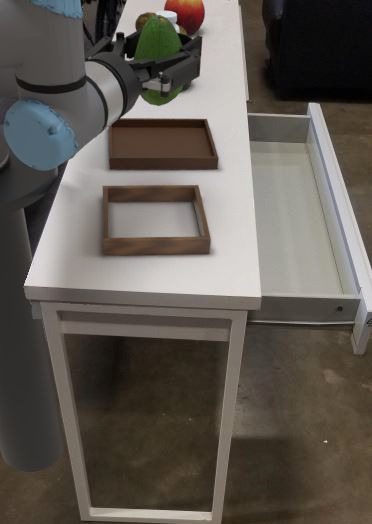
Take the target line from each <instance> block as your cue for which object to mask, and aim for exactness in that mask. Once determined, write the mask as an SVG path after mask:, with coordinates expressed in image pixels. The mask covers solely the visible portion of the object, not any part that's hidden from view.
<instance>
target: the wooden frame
mask: <svg viewBox="0 0 372 524" xmlns="http://www.w3.org/2000/svg"><path fill="white" fill-rule="evenodd" d="M141 202H142V203H143V202H144V203H145V202H146V203H147V202H148V203H151V202H155V203H156V202H193V206H194V211H195V215H196V220H197V224H198V229H199V234H200V236H196V235H195V236H144V237H143V236H140V237H139V236H137V237H136V236H135V237H133V236H132V237H110V219H109V218H110V211H109V209H110V208H109V207H110V206H109V203H141ZM204 207H205V206H204V202H203V198H202V195H201V190H200V185H199V184H168V185H167V184H162V185H159V184H157V185H156V184H155V185H154V184H153V185H152V184H151V185H146V184H145V185H141V184H139V185H102V242H103V243H102V245H103V255H104V256H128V255H129V256H133V255H134V256H136V255H137V256H138V255H139V256H141V255H142V256H143V255H191V254H192V255H193V254H196V255H197V254H210V253H211V242H212V238H211V233H210V229H209V225H208V220H207V216H206V211H205V208H204Z"/></svg>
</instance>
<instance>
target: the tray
mask: <svg viewBox="0 0 372 524" xmlns="http://www.w3.org/2000/svg"><path fill="white" fill-rule="evenodd" d="M108 156H109V157H108V160H109V170H218V167H219V159H220V158H219V155H218V151H217V148H216V145H215V141H214V138H213V135H212V131H211V127H210V124H209V121H208V118H165V117H163V118H162V117H161V118H153V117H150V118H148V117H147V118H143V117H141V118H139V117H136V118H135V117H133V118H132V117H121V118H120V119H118V120H117V121H115V122H114V123H113V124H111V125H110V126H109V127H108Z"/></svg>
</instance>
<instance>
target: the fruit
mask: <svg viewBox="0 0 372 524" xmlns="http://www.w3.org/2000/svg"><path fill="white" fill-rule="evenodd" d="M205 8H206V7H205V4H204V1H203V0H165V3H164V7H163V11H172V12H175V13H176V14H177V22H176V24H177V25H179V26H181V27H182V28H184V29H185V31H186V32H187V35H188V36H189V35H194V34H195V33H197V32H198V31H199V30H200V28H201V27H202V26H203V23H204V21H205V17H206V15H205V14H206V9H205Z"/></svg>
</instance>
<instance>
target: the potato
mask: <svg viewBox="0 0 372 524" xmlns="http://www.w3.org/2000/svg"><path fill="white" fill-rule="evenodd" d="M152 16H156V12H151V11H150V12H149V11H146V12H144V13H141V14H139V15H138V17H137V19H136V20H135V24H134V26H135V27H134V28H135V30H136V31H137V30H139V29H141V28H142V27H143V26H144V25H145V23H146V22H147V21H148V20H149V19H150V18H151V17H152ZM178 27H179V29H180V33H181V34H185V35H187V32H186V31H185V29H184V28H182V27H181V26H179V25H178ZM136 31H135V32H136Z"/></svg>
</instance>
